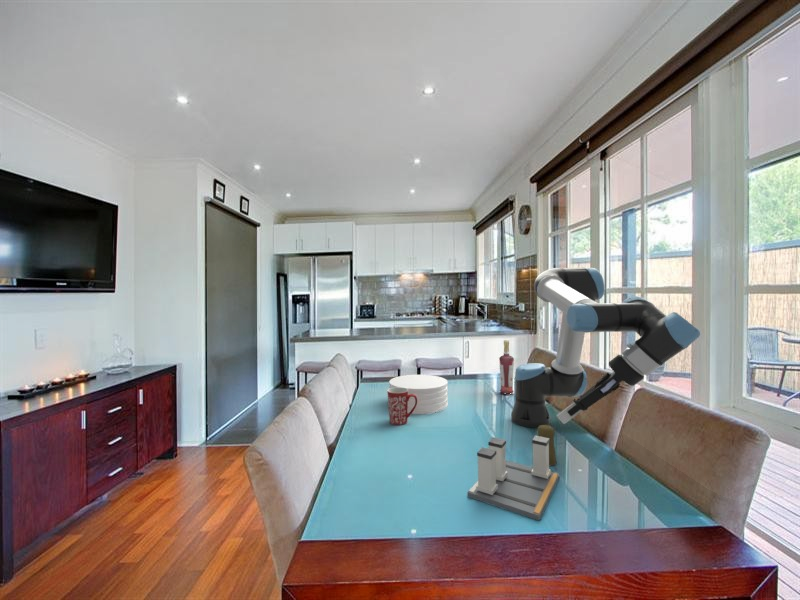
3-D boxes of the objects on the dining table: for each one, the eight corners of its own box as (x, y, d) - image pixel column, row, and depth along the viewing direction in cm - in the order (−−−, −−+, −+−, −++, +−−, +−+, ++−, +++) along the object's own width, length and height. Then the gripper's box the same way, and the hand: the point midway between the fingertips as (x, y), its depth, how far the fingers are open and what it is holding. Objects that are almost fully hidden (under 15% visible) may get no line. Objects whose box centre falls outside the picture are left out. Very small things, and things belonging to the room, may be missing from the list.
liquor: (513, 396, 184) (513, 341, 183) (499, 394, 186) (498, 341, 186) (514, 392, 190) (513, 340, 190) (500, 391, 193) (499, 339, 193)
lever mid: (507, 475, 100) (507, 440, 100) (502, 481, 97) (502, 445, 97) (492, 471, 103) (492, 437, 103) (487, 476, 100) (487, 441, 100)
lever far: (497, 488, 94) (497, 450, 94) (492, 495, 91) (492, 456, 90) (482, 483, 96) (481, 446, 96) (476, 489, 93) (475, 452, 93)
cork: (555, 458, 114) (555, 424, 114) (557, 466, 108) (557, 430, 108) (535, 455, 116) (535, 422, 116) (536, 463, 110) (536, 428, 110)
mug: (384, 425, 145) (384, 392, 144) (390, 417, 153) (389, 386, 153) (415, 427, 142) (415, 393, 142) (419, 419, 151) (418, 387, 150)
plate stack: (391, 396, 186) (390, 374, 186) (444, 396, 185) (444, 374, 185) (387, 414, 158) (387, 388, 158) (450, 414, 157) (450, 388, 157)
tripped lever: (550, 472, 101) (550, 438, 101) (547, 479, 98) (547, 443, 98) (534, 468, 104) (534, 435, 104) (531, 474, 101) (531, 439, 101)
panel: (559, 478, 102) (559, 473, 102) (539, 520, 83) (539, 514, 83) (497, 461, 112) (497, 457, 112) (467, 496, 93) (467, 491, 93)
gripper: (621, 349, 95) (555, 402, 105) (618, 356, 84) (544, 414, 94) (645, 371, 92) (575, 423, 102) (645, 382, 81) (567, 439, 91)
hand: (560, 419), depth 98 cm, fingers closed
